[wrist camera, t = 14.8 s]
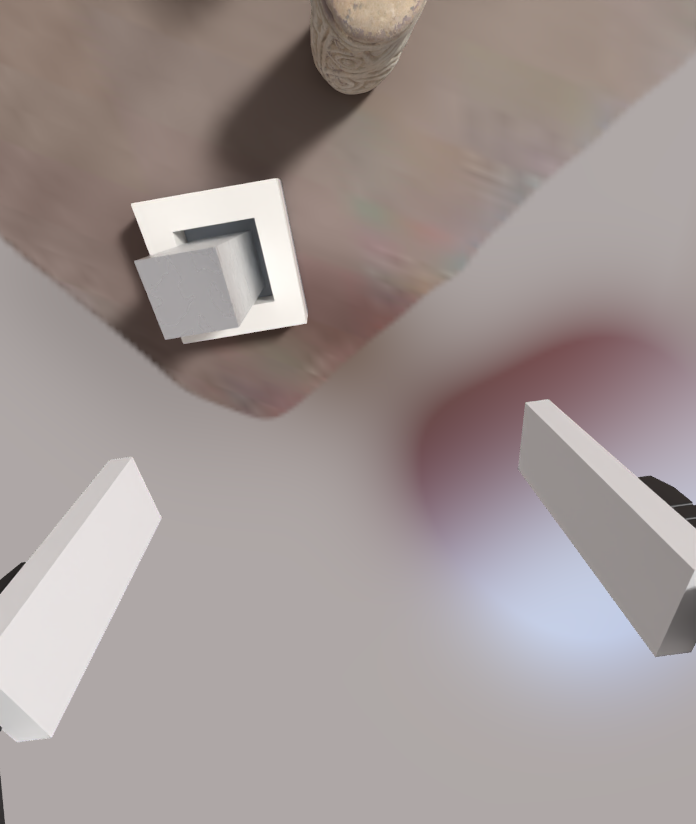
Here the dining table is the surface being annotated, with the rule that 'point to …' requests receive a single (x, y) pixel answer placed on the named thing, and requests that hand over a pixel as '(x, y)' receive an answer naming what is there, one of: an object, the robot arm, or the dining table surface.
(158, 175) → the dining table surface
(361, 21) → the carving
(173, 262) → the square peg
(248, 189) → the bore block
